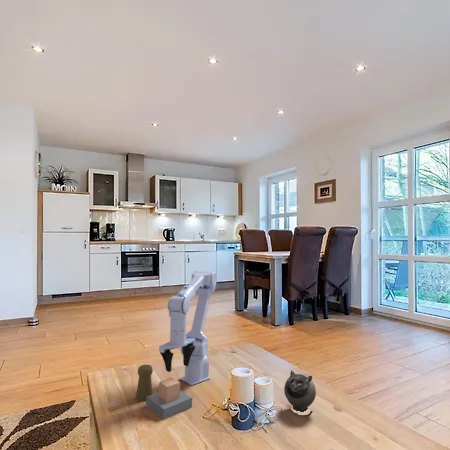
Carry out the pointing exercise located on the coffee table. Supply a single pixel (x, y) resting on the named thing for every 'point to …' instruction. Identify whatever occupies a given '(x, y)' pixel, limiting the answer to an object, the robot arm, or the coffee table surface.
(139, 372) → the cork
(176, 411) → the plate
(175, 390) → the tan cube
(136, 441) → the coffee table surface
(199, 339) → the robot arm
